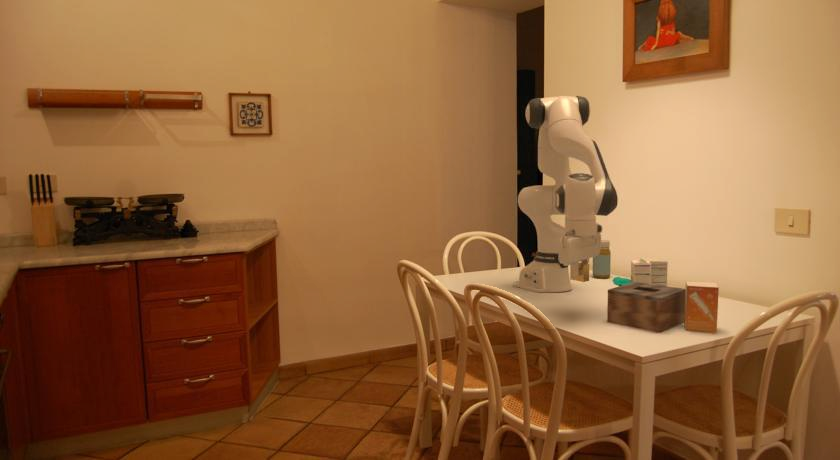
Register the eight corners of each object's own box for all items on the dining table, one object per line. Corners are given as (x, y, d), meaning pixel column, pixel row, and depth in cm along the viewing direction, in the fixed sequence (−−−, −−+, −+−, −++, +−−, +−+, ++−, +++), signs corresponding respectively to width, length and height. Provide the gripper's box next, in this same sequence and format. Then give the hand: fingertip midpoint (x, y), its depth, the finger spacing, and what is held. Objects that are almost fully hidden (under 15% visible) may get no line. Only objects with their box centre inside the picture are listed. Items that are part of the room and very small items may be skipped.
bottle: (593, 278, 239) (594, 242, 237) (591, 275, 246) (592, 239, 244) (611, 278, 238) (612, 242, 236) (608, 275, 244) (609, 239, 243)
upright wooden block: (570, 279, 176) (570, 263, 175) (575, 278, 177) (575, 262, 176) (583, 282, 171) (583, 265, 171) (589, 280, 173) (589, 264, 172)
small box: (685, 330, 163) (686, 285, 162) (683, 325, 169) (685, 280, 168) (717, 333, 160) (719, 287, 159) (714, 327, 166) (716, 282, 165)
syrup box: (651, 306, 191) (652, 262, 190) (632, 306, 192) (633, 262, 191) (648, 302, 197) (649, 260, 195) (629, 301, 198) (630, 259, 196)
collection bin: (607, 322, 173) (607, 289, 172) (633, 312, 184) (634, 281, 182) (659, 333, 161) (660, 298, 160) (685, 322, 172) (686, 289, 171)
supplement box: (638, 291, 213) (639, 257, 211) (659, 291, 212) (660, 257, 211) (646, 296, 205) (646, 261, 204) (667, 296, 205) (668, 260, 204)
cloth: (651, 294, 211) (651, 288, 211) (611, 292, 215) (611, 286, 215) (644, 280, 236) (644, 274, 236) (608, 279, 240) (608, 273, 240)
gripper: (573, 233, 163) (572, 281, 164) (605, 225, 178) (604, 270, 179) (553, 231, 167) (552, 279, 168) (585, 224, 182) (585, 268, 184)
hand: (579, 274), depth 174 cm, fingers closed on upright wooden block, 3 cm apart
